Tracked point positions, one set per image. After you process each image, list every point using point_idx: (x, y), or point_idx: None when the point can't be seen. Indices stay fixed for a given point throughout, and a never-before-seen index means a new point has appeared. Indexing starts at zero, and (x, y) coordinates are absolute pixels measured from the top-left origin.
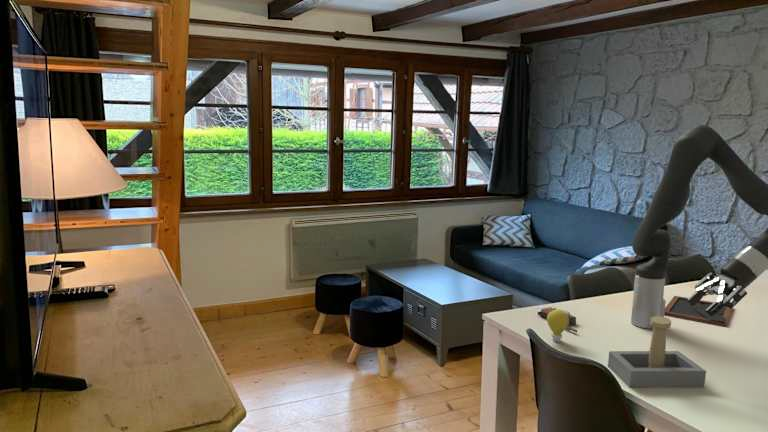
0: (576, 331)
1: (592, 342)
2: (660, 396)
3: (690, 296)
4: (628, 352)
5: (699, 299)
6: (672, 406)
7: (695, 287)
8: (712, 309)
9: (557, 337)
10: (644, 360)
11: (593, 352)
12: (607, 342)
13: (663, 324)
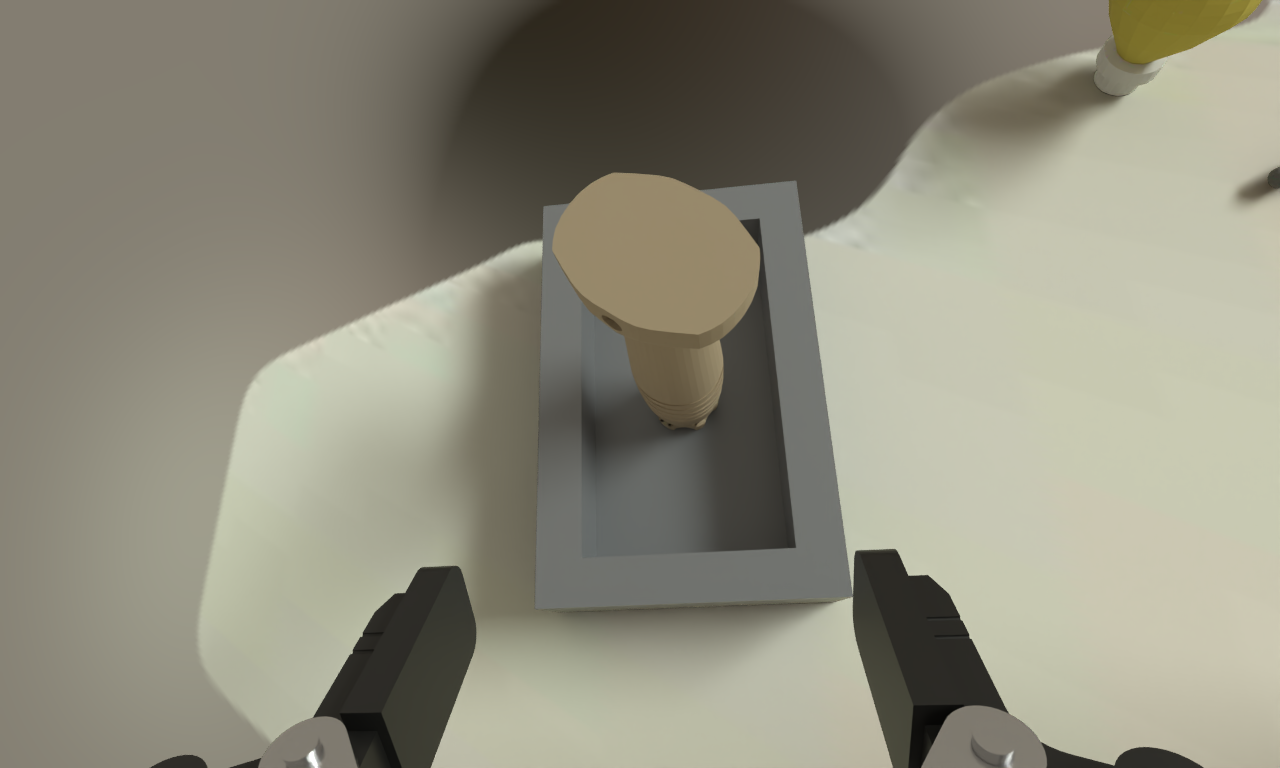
0: (1272, 177)
1: (1136, 245)
2: (477, 346)
3: (962, 622)
4: (789, 272)
5: (889, 738)
6: (391, 357)
7: (1118, 758)
8: (375, 622)
9: (1100, 57)
10: (772, 370)
11: (969, 212)
12: (1163, 328)
13: (555, 235)
